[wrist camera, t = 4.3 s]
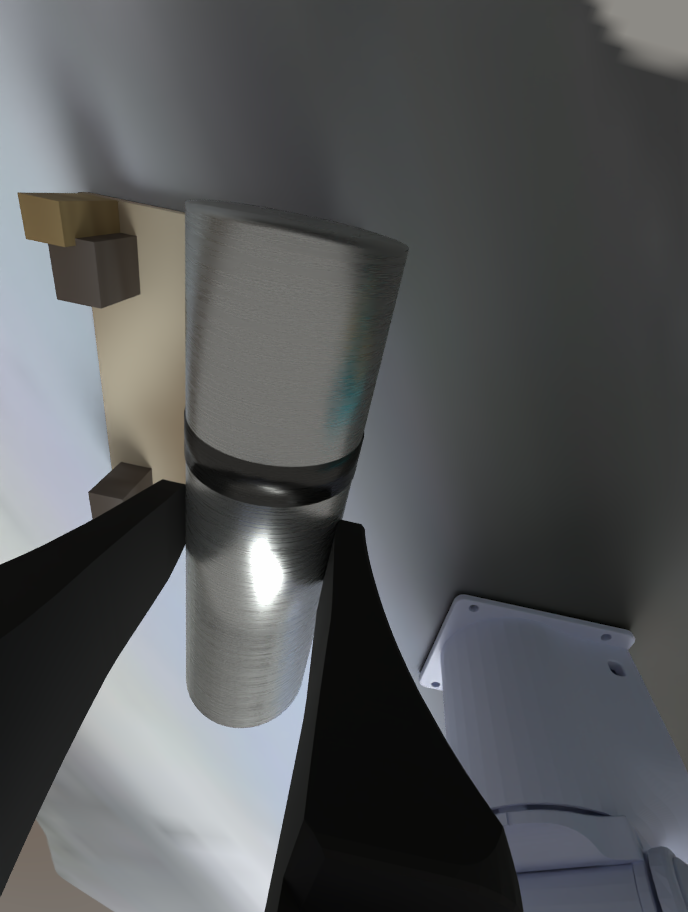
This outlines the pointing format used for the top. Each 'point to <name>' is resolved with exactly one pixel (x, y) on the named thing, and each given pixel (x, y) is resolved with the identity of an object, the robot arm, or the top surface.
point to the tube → (271, 435)
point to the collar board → (125, 324)
